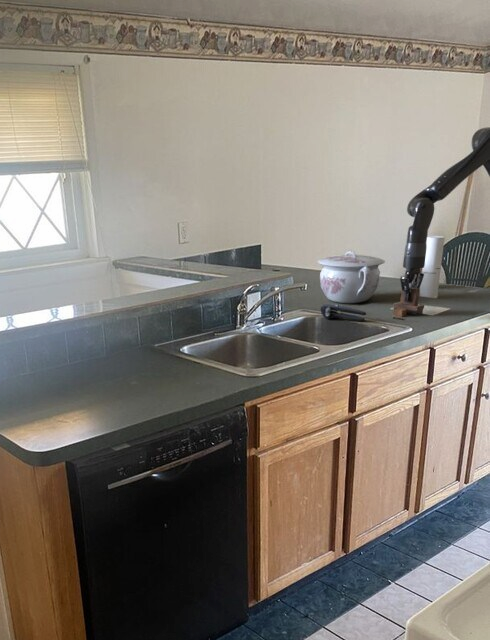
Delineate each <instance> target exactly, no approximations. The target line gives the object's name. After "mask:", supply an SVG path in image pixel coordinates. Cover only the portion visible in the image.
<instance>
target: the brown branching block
mask: <svg viewBox="0 0 490 640" xmlns="http://www.w3.org/2000/svg"><path fill="white" fill-rule="evenodd" d="M409 288H410V286H409ZM419 294H420V289H419V288H412V293H411V301H410V302H405V301H404V299H405V292H404V291H402V290H401V293H400V301H396V302H393V304H392V308H394V309H397V308H402V309H407V312H406V315H410V316H419V315H423V314H422V312H423V309H424V305H425V304H421V303H419V298H420V296H419ZM394 309H393V310H394Z"/></svg>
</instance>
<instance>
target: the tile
mask: <svg viewBox="0 0 490 640" xmlns="http://www.w3.org/2000/svg"><path fill="white" fill-rule="evenodd" d="M423 305H424V309H423V312H422V314H421V315H428V316H436V315H438V314H441V313H443V312H446V311H449V310H450V307H449V308H448V307H441V306H434V305H427V304H423ZM390 310H394V307H391V308H390Z"/></svg>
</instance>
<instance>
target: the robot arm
mask: <svg viewBox="0 0 490 640" xmlns="http://www.w3.org/2000/svg"><path fill="white" fill-rule="evenodd" d="M470 142H471V148H472V151H471V152H470V153H469V154H468V155H466V156H465V157H464V158H462V159H460V160H459V161H458V162H456V163H455V164H453V165H451V166H450V167H448V168H447V169H446V170H445V171H443V172H442V173H441V174H440V175H439V176H438V177H437V178H436V179H435V180H434V181H433V182H432V183H431V184H430V185H429V186H427V187H426V188H424V189H422V190H421V191H420V192H418V193H417V194H416V195H414V196H413V197H412V198H411V199H410V200H409V202H408V204H407V207H406V211H407V214H408V215H409V216H410V217H411V218H413V222H412V224H411V225H409V227H408V229H407V234H406V242H405V247H404V253H403V262H402V267H403V268H405V271H404V275H403V276H400V287H401V292H402V291H404V292H405V299H404V301H405V302H410V301H411V293H412V288H420V285H421V283H422V280H423V277H424V274H423V273H421V268H424V265H425V257H426V249H427V236H429V235H428V234H429V228H430V226H431V224H432V221H433V217H434V214H435V203H437V202H440V201H443V200H444V199H446V198H447V197H448V196H449V195H450V194H451V193H452V192H453V191H454V190H455V189H456V188H457V187H458V186H459V185H461V184H462V183H463V182H464V181H465V180H466V179H467V178H469V177H470V176H471V175H472V174H473V173H475V171H477V170H479V169H480V168H481V167H482V166H483V168H484V169H485V171H486V173H487V175H488V176H489V178H490V126H489V127H487V126H485V127H482V128H479V129H477V130H476V131H475V132H474V134H473V135H472V137H471V141H470ZM409 287H410V288H409Z"/></svg>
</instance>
